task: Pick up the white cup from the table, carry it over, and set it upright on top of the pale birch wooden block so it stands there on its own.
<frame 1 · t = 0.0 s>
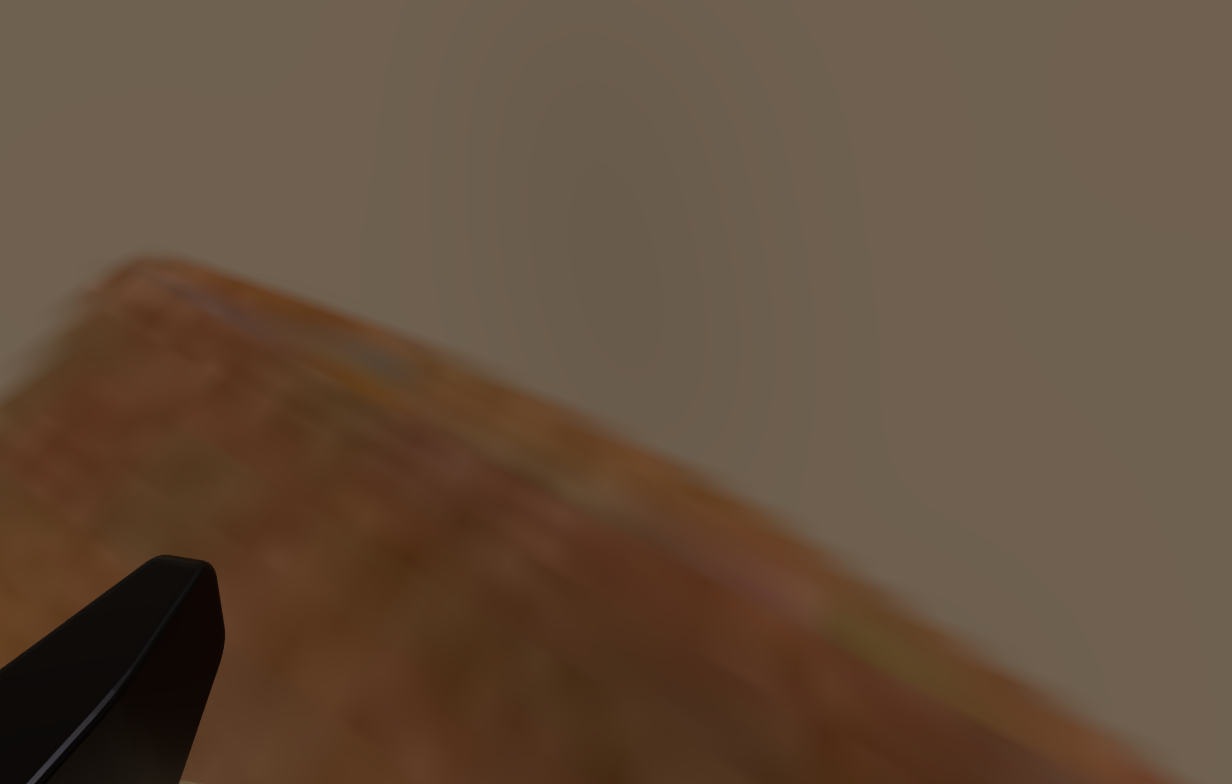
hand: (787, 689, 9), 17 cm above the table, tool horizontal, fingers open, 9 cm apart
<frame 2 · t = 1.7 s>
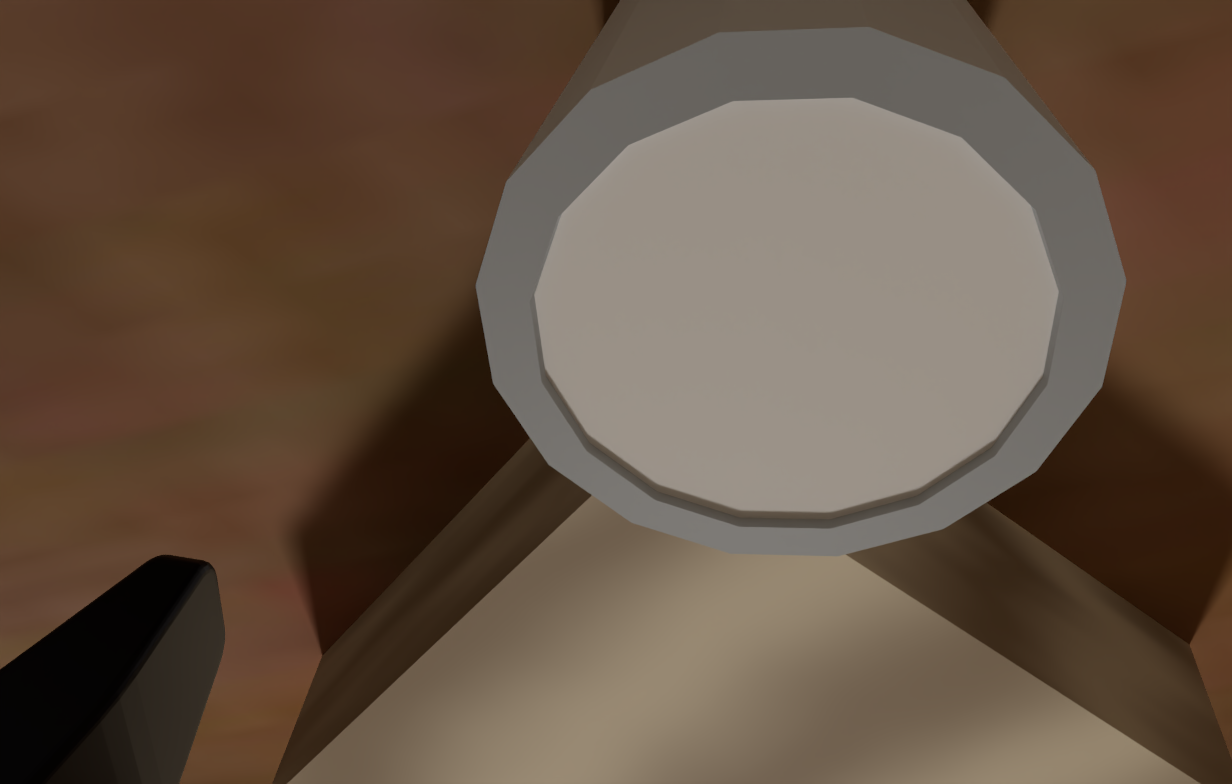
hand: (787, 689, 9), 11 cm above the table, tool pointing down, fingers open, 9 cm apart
birch block: (727, 636, 26), on the table
white cup: (783, 78, 18), on the table
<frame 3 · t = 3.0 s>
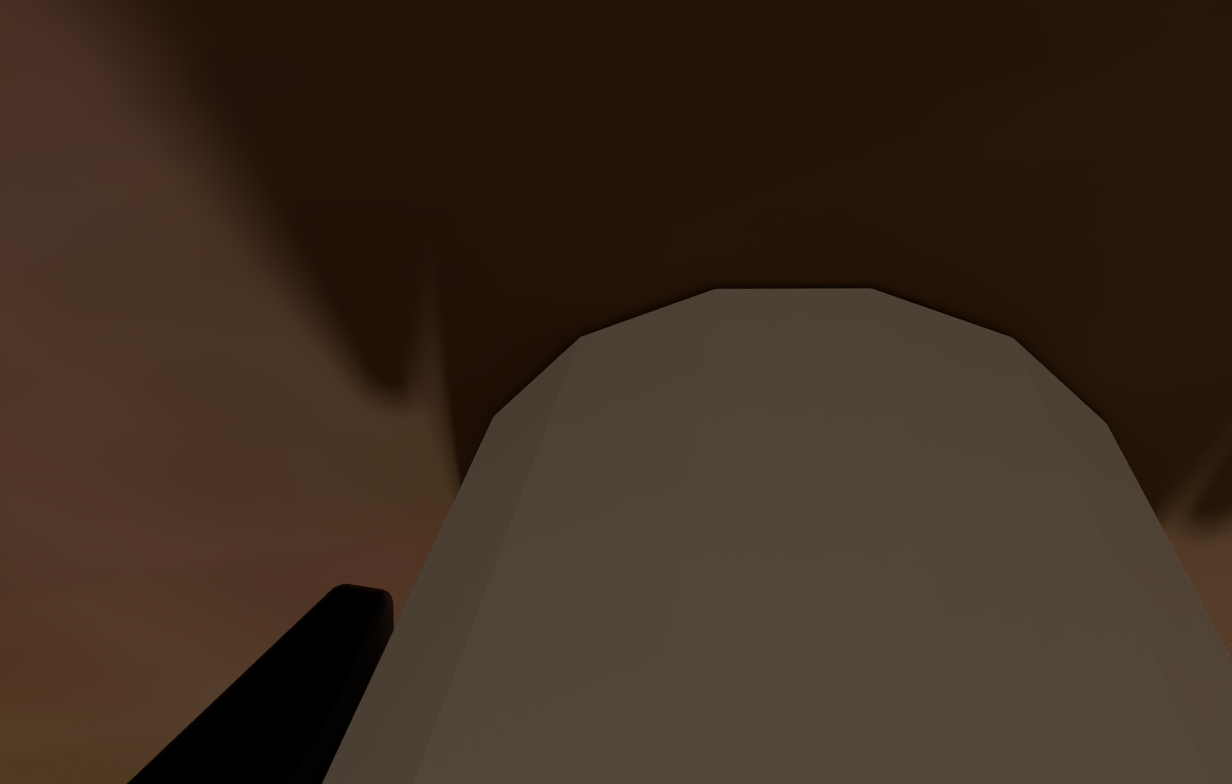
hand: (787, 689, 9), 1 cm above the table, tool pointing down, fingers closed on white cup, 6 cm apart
white cup: (785, 545, 10), on the table, touching gripper
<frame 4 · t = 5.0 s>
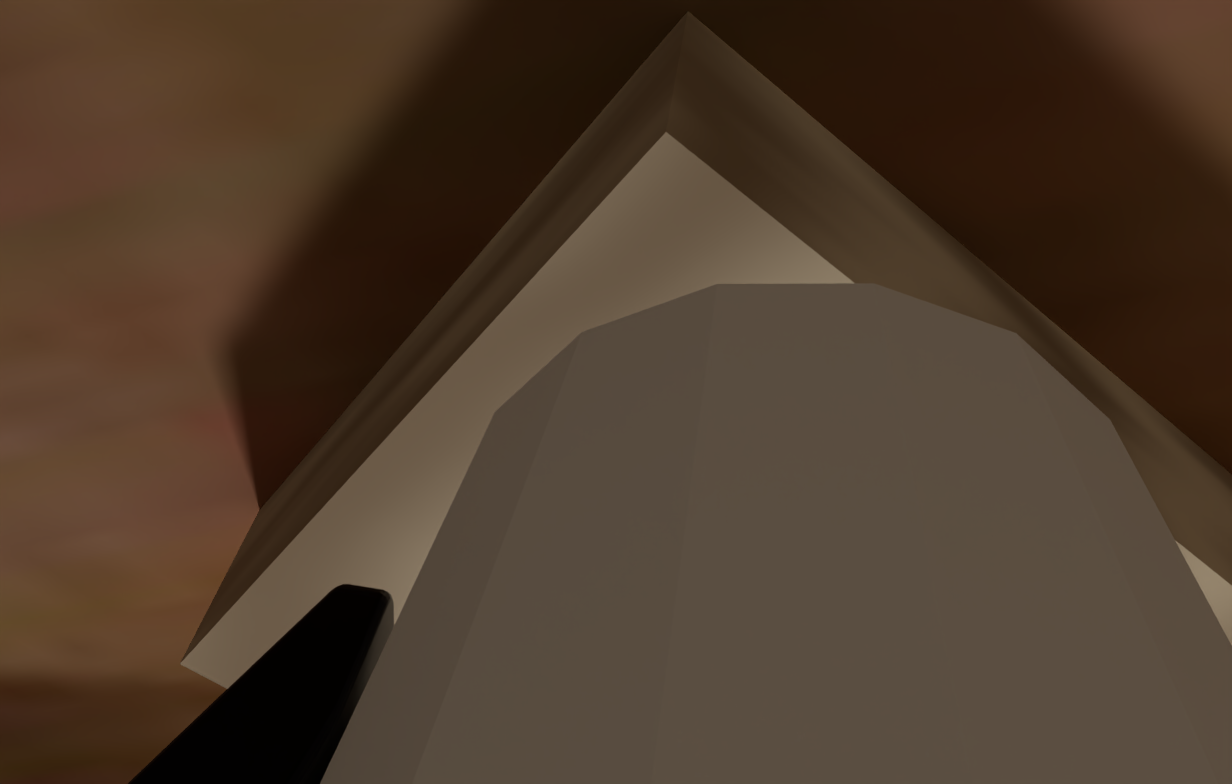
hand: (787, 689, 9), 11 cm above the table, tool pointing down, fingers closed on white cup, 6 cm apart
birch block: (727, 492, 23), on the table
white cup: (787, 541, 10), point 9 cm above the table, touching gripper
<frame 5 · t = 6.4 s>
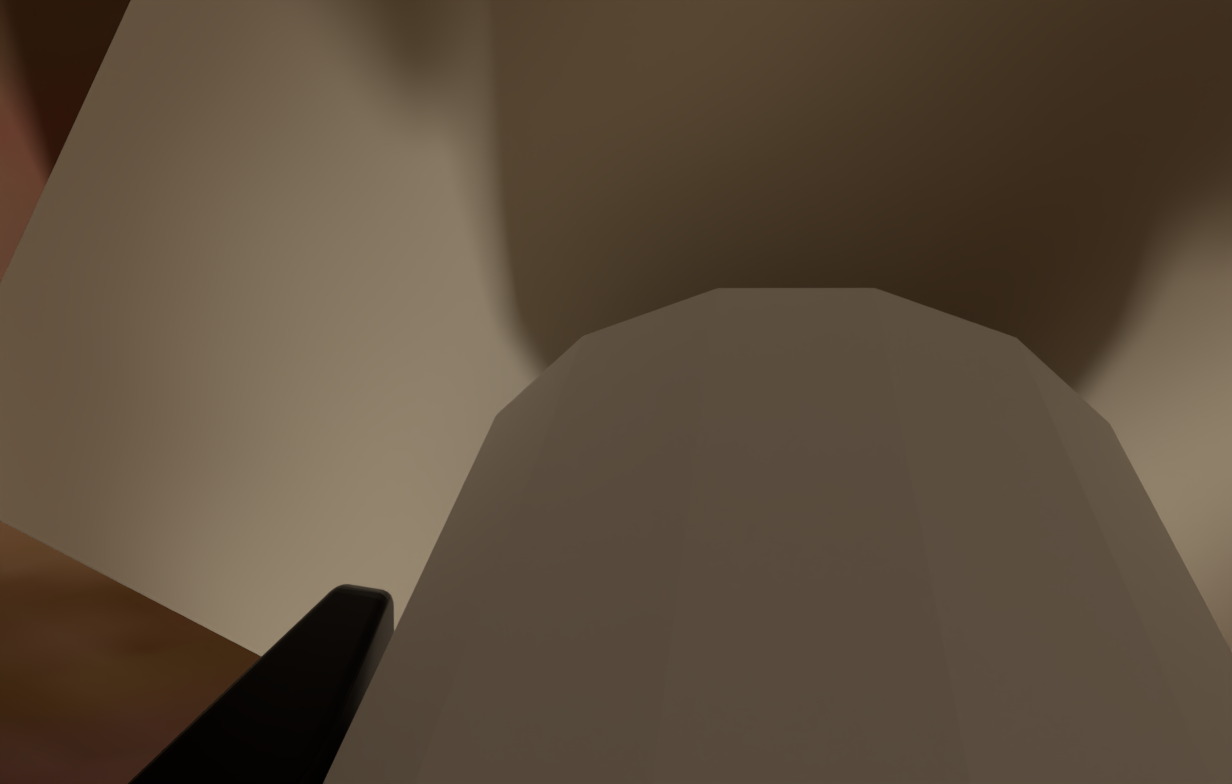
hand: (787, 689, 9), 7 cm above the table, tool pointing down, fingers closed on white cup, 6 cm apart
birch block: (793, 217, 15), on the table
white cup: (788, 544, 10), point 6 cm above the table, touching gripper
when the fingers open (7 cm above the table, at t = 7.3 s): white cup drops 2 cm, resting on birch block.
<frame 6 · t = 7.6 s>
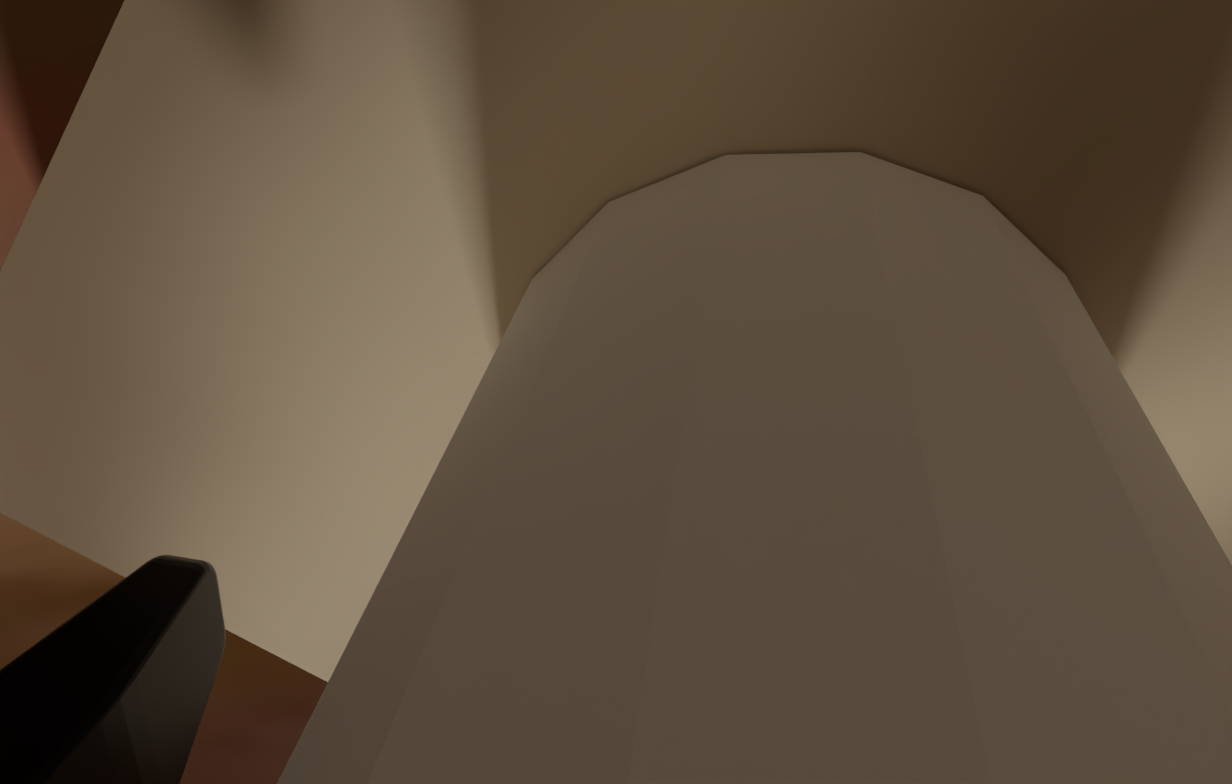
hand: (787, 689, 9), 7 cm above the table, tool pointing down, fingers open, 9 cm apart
birch block: (786, 209, 15), on the table, touching white cup
white cup: (788, 400, 11), point 4 cm above the table, touching birch block
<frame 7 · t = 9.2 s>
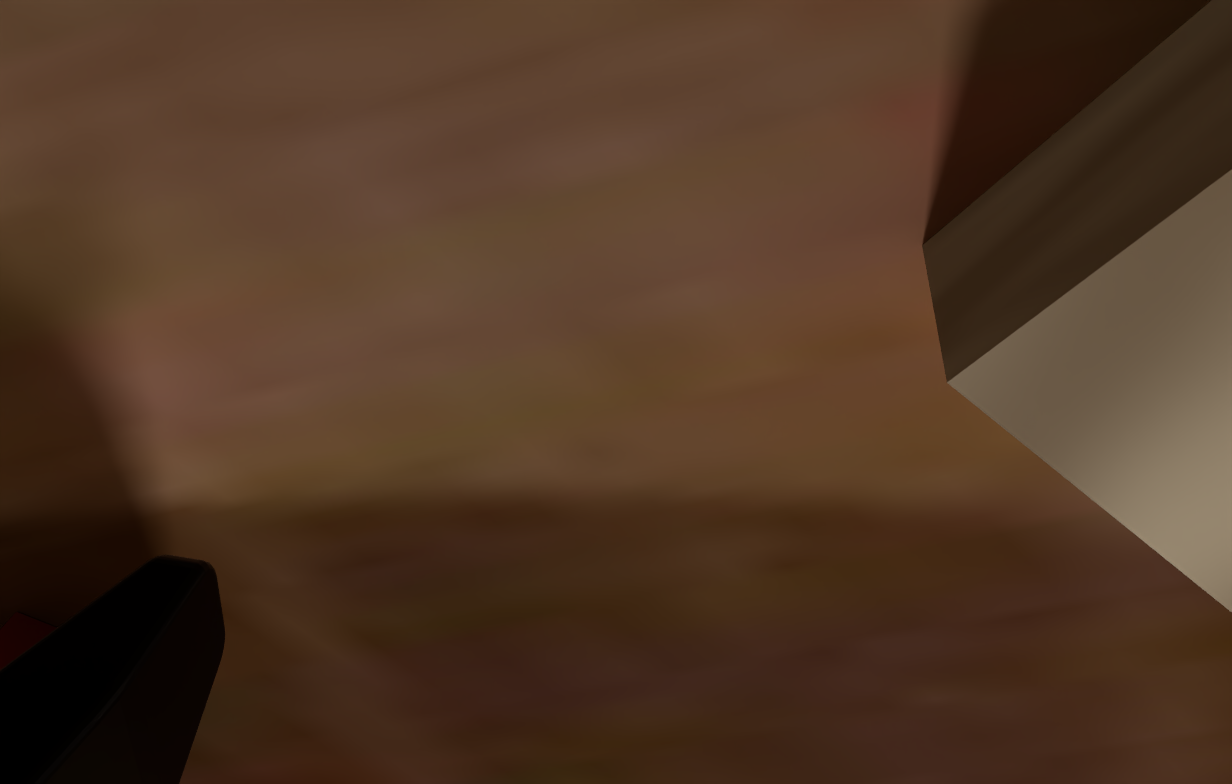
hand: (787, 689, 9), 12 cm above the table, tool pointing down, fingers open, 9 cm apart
french fries: (137, 690, 30), on the table
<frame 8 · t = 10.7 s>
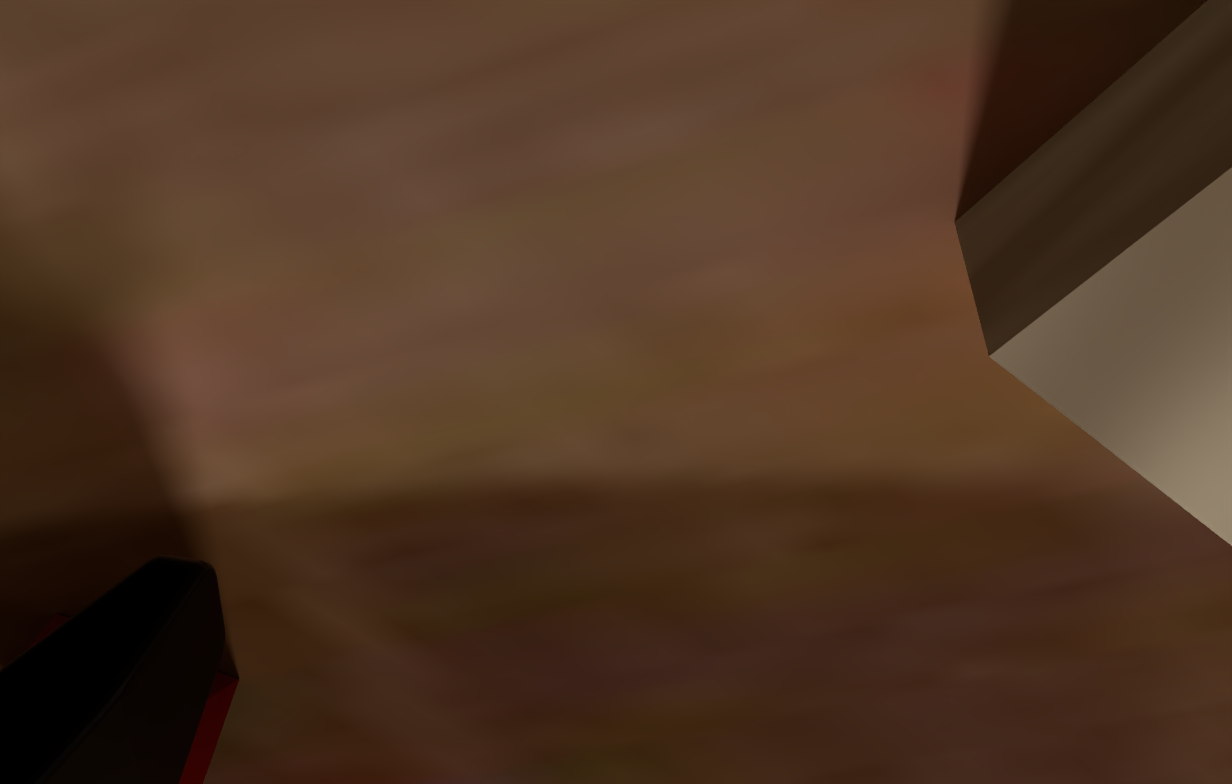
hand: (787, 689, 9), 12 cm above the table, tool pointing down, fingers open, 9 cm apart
french fries: (178, 688, 31), on the table
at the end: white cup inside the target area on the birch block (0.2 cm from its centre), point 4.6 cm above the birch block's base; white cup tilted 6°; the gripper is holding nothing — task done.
